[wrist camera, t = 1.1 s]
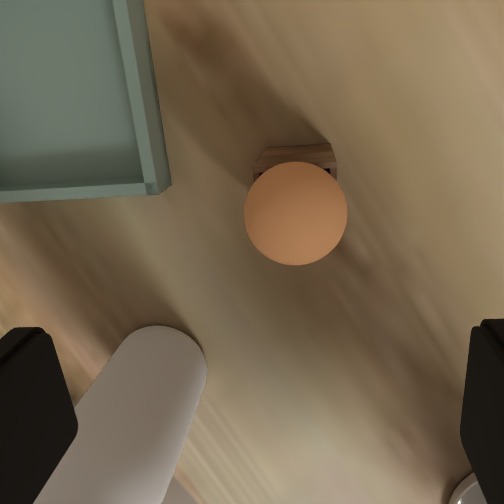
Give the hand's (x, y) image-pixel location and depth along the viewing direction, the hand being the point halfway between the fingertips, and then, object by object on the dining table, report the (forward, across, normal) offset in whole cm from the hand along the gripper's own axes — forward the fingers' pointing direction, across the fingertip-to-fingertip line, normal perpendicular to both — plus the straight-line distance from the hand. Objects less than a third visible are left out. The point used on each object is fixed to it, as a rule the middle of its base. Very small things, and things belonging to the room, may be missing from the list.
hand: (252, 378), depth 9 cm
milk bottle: (+21, +11, +15) cm, 28 cm away
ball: (+12, -1, 0) cm, 12 cm away
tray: (+21, +15, -7) cm, 27 cm away
